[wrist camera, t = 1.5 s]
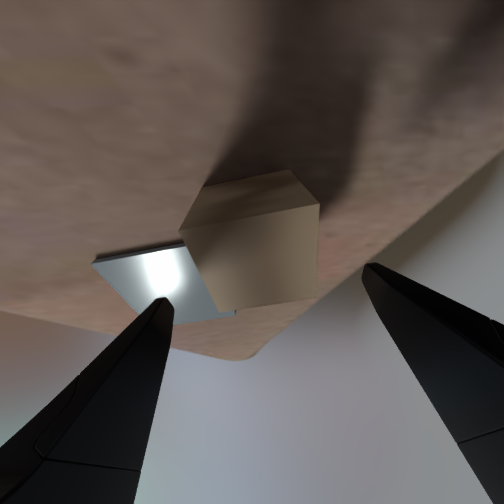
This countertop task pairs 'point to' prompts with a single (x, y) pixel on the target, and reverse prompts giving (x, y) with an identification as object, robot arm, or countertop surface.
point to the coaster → (161, 282)
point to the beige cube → (255, 240)
